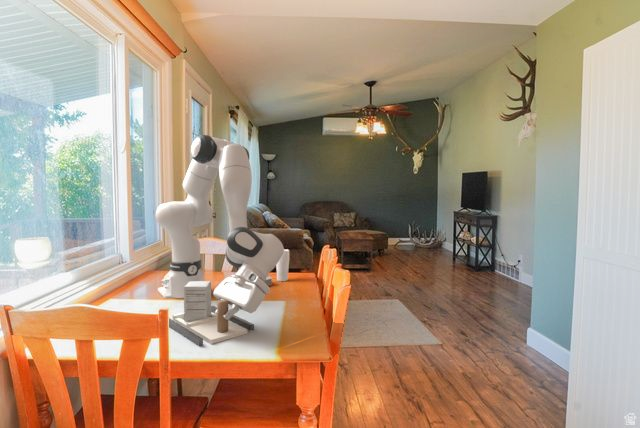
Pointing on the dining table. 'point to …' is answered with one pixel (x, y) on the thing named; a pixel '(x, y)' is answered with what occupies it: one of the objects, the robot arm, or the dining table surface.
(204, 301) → the supplement box
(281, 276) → the white piece
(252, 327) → the dark grey parallel rails
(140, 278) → the dining table surface
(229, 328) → the board with brown peg
